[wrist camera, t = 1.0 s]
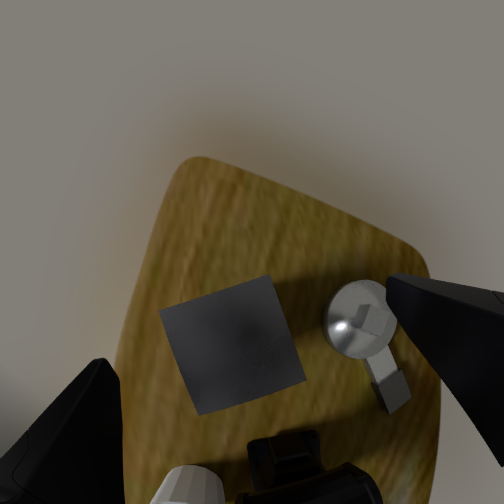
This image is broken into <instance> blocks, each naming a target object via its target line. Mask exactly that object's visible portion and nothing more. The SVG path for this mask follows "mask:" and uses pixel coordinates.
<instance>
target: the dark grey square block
mask: <svg viewBox="0 0 504 504" xmlns="http://www.w3.org/2000/svg"><path fill="white" fill-rule="evenodd" d="M159 313H160V316H161V319H162V322H163V325H164V328H165V331H166V334H167V337H168V340H169V343H170V345H171V348H172V351H173V354H174V356H175V359H176V362H177V364H178V367H179V369H180V372H181V374H182V377H183V379H184V382H185V384H186V387H187V389H188V392H189V394H190V396H191V399H192V401H193V403H194V406H195V408H196V410H197V412H198V415H203V414H207V413H211V412H214V411H218V410H222V409H225V408H228V407H232V406H235V405H238V404H242V403H245V402H248V401H251V400H254V399H257V398H260V397H263V396H266V395H269V394H271V393H274V392H277V391H280V390H282V389H285V388H287V387H290V386H293V385H295V384H298V383H300V382H303V381H305V380H306V377H305V374H304V371H303V368H302V365H301V362H300V360H299V357H298V354H297V351H296V348H295V345H294V342H293V339H292V337H291V334H290V331H289V328H288V325H287V322H286V319H285V317H284V314H283V311H282V308H281V305H280V302H279V300H278V297H277V294H276V291H275V288H274V285H273V283H272V280H271V277H270V274H268V275H265V276H262V277H259V278H256V279H253V280H251V281H248V282H245V283H242V284H239V285H236V286H233V287H230V288H227V289H224V290H221V291H218V292H215V293H212V294H209V295H206V296H203V297H200V298H197V299H194V300H190V301H187V302H184V303H181V304H178V305H175V306H172V307H169V308H165V309H162V310H159Z"/></svg>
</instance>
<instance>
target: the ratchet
mask: <svg viewBox="0 0 504 504" xmlns="http://www.w3.org/2000/svg"><path fill="white" fill-rule="evenodd" d="M385 297H386V288H385V287H384V286H382V285H381V284H379V283H377V282H375V281H371V280H359V281H354V282H349V283H346V284H344V285H342V286H340V287H339V288H338V289H336V290H335V291H334V292H333V293H332V295H331V296H330V297H329V299H328V300H327V302H326V304H325V307H324V310H323V315H322V327H323V332H324V335H325V338H326V340H327V341H328V343H329V344H330V345H331V347H332V348H333V349H335V350H336V351H337V352H339V353H341V354H343V355H346V356H348V357H351V358H356V359H362V360H363V362H364V364H365V367H366V369H367V371H368V373H369V376H370V378H371V380H372V382H371V385H372V387H373V390H374V392H375V394H376V397H377V399H378V401H379V404H380V406H381V408H382V410H383V411H385V412H387V413H388V414H391V413H393V412H394V411H395V410H397V409H398V408H399V407H400V406H402V405H403V404H404V403H405V402H407V401H408V400H409V399H410V398H412V396H411V393H410V390H409V387H408V385H407V382H406V379H405V377H404V374H403V371H402V369H399V368H397V366H396V364H395V361H394V359H393V356H392V354H391V352H390V349H389V347H388V343H389V342H390V340H391V338H392V337H393V334H394V332H395V329H396V324H397V319H396V317H395V316H394V314H393V313H392V311H391V310H390V308H389V307H388V305H387V303H386V298H385Z"/></svg>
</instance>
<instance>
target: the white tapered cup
mask: <svg viewBox="0 0 504 504" xmlns="http://www.w3.org/2000/svg"><path fill="white" fill-rule="evenodd" d="M150 504H226V503H225V496H224V490H223V484H222V481H221V479H220V478H219V477H218V476H217V475H216V474H215V473H213V472H212V471H210V470H208V469H207V468H203V467H200V466H196V465H182V466H179V467H176V468H174V469H172V470H171V471H170V472H169V473H168V474H167V476H166V478H165V479H164V481H163V483H162V484H161V486H160V488H159V489H158V491H157V493H156V494H155V496H154V498H153V499H152V501H151V502H150Z"/></svg>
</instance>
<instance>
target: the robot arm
mask: <svg viewBox="0 0 504 504" xmlns="http://www.w3.org/2000/svg"><path fill="white" fill-rule="evenodd" d="M385 298H386V303H387V305H388V307H389V308H390V310H391V311H392V313H393V314H394V316H395V317H396V319H397V320H398V322H399V323H400V325H401V326H402V328H403V329H404V331H405V332H406V334H407V335H408V337H409V338H410V339H411V341H412V342H413V343H414V345H415V346H416V347H417V348H418V350H419V351H420V352H421V353H422V355H423V356H424V357H425V358H426V360H427V361H428V362H429V363H430V365H431V366H432V367H433V369H434V370H435V371H436V372H437V374H438V375H439V376H440V378H441V379H442V380H443V382H444V383H445V384H446V386H447V387H448V388H449V390H450V391H451V393H452V394H453V395H454V397H455V398H456V399H457V401H458V402H459V404H460V405H461V406H462V408H463V409H464V411H465V412H466V413H467V415H468V416H469V418H470V419H471V421H472V422H473V424H474V425H475V427H476V428H477V430H478V431H479V433H480V434H481V436H482V437H483V439H484V441H485V442H486V444H487V445H488V447H489V448H490V450H491V452H492V453H493V455H494V456H495V458H496V460H497V461H498V463H499V464H500V466H501V467H503V466H504V293H503V292H497V291H490V290H487V289H481V288H476V287H471V286H466V285H460V284H455V283H450V282H445V281H439V280H434V279H429V278H424V277H418V276H413V275H408V274H402V273H396V274H393V275H391V276H389V277H388V278H387V281H386V297H385ZM313 434H315V436H313V437H311V436H312V435H313ZM122 437H123V424H122V410H121V394H120V381H119V378H118V376H117V374H116V373H115V371H114V370H113V368H112V367H111V365H110V364H109V362H108V361H107V360H106V359H105V358H99V359H94V360H92V361H91V362H90V363H89V364H88V365H87V366H86V368H84V370H83V371H81V373H80V374H79V375H78V376H77V377H76V378H75V379H74V380H73V381H72V382H71V383H70V384H69V385H68V386H67V387H66V388H65V389H64V390H63V391H62V393H61V394H60V395H59V396H58V397H57V398H56V399H55V400H54V401H53V402H52V403H51V404H50V405H49V406H48V407H47V409H46V410H45V411H44V412H43V413H42V414H41V415H40V416H39V418H37V420H36V421H35V422H34V423H33V424H32V425H31V426H30V427H29V430H27V431H26V432H25V433H24V434H23V435H22V436H21V438H19V440H18V441H17V442H16V443H15V444H14V445H13V446H12V447H11V448H10V449H9V450H8V451H7V452H6V453H5V454H4V455H3V456H2V457H1V458H0V504H125V496H124V481H123V448H122ZM252 445H254V446H255V447H253V448H251V447H250V446H252ZM247 450H248V455H249V461H250V467H251V472H252V478H253V483H254V488H255V492H250V493H240V494H238V495H237V499H236V500H235V504H383V500H382V496H381V494H380V491H379V489H378V487H377V485H376V483H375V482H374V480H373V479H372V477H371V476H370V475H369V474H368V473H366V472H365V471H363V470H361V469H359V468H358V467H356V466H354V465H353V464H351V463H349V462H346V463H344V464H342V465H341V466H339V467H336V468H334V469H331V470H328V471H326V470H325V468H324V466H323V465H322V463H321V460H320V442H319V433H318V432H317V431H316V430H311V431H307V432H302V433H291V434H286V435H280V436H274V437H270V438H269V439H264V440H257V441H251V442H249V443H248V444H247ZM258 488H259V489H258Z"/></svg>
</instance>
